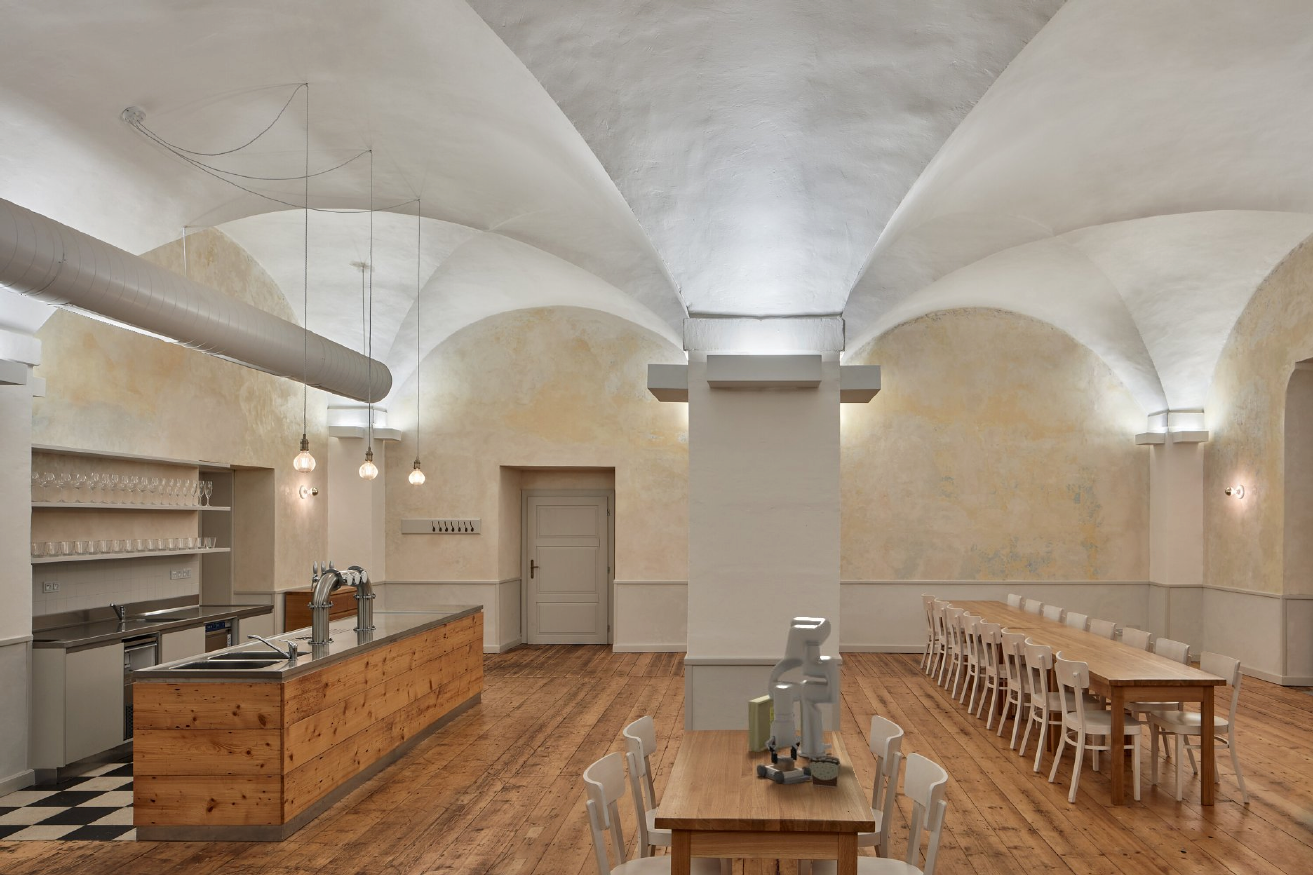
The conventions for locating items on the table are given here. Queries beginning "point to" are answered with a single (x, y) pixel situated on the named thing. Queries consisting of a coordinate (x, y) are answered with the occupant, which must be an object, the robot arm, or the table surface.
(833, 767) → the food container
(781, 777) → the chassis
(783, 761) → the grey block on wood
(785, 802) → the table surface
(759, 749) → the flat product box
